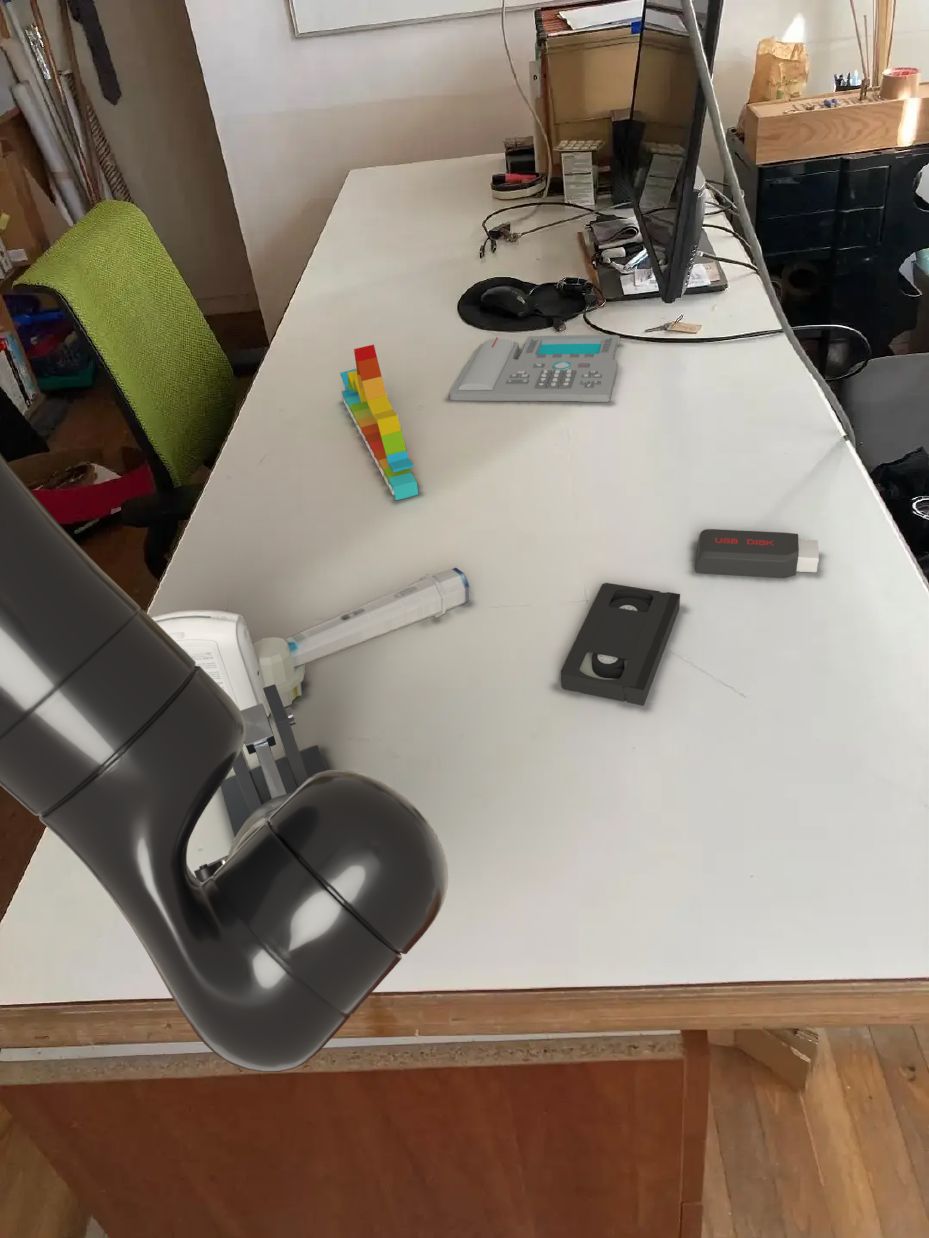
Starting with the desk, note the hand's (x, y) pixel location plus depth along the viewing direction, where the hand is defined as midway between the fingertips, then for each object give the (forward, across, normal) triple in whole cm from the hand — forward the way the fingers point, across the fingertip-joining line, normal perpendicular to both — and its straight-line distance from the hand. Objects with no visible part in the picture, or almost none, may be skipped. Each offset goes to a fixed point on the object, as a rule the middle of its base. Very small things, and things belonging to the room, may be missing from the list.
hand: (295, 840), depth 66 cm
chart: (+53, -27, -42) cm, 73 cm away
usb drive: (+20, -54, -8) cm, 58 cm away
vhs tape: (+16, -35, -4) cm, 39 cm away
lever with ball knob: (+4, 0, -3) cm, 6 cm away
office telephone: (+58, -56, -47) cm, 93 cm away
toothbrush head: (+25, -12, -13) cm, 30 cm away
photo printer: (+23, +3, -12) cm, 26 cm away
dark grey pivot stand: (+12, 0, -1) cm, 12 cm away
